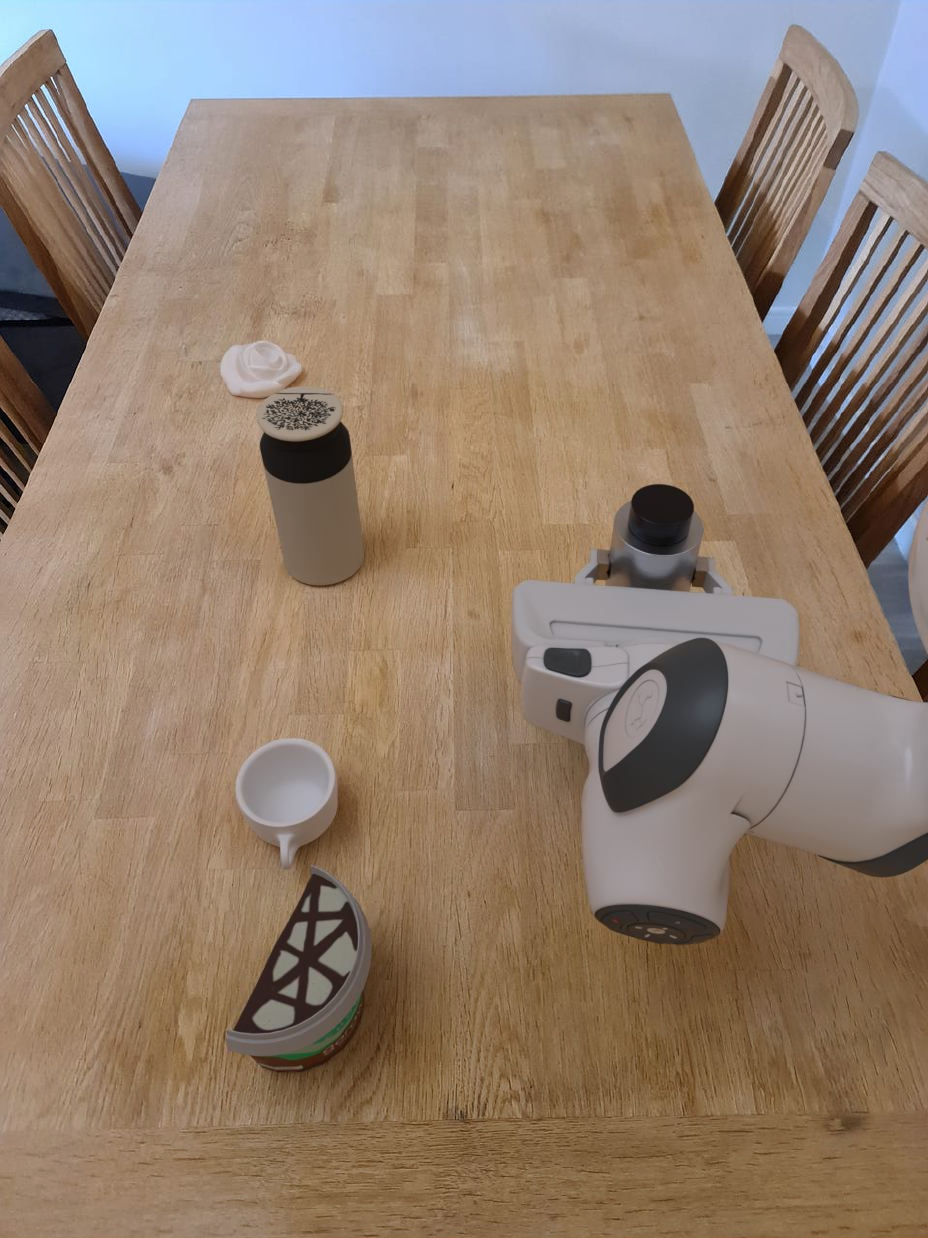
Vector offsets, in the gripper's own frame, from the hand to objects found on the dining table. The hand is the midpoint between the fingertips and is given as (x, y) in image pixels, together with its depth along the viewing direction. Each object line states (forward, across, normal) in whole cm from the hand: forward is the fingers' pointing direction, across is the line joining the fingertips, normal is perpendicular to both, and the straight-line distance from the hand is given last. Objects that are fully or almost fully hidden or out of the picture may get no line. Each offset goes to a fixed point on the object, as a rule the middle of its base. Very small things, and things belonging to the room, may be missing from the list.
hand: (650, 558), depth 74 cm
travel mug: (+13, +30, +16) cm, 37 cm away
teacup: (-17, +26, +16) cm, 35 cm away
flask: (-1, 0, +8) cm, 8 cm away
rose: (+43, +44, +16) cm, 64 cm away
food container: (-31, +20, +16) cm, 40 cm away
